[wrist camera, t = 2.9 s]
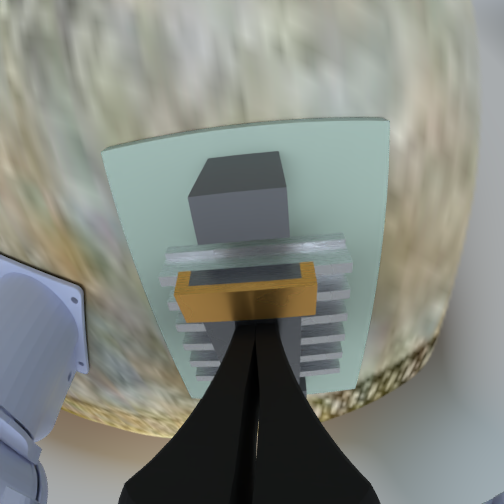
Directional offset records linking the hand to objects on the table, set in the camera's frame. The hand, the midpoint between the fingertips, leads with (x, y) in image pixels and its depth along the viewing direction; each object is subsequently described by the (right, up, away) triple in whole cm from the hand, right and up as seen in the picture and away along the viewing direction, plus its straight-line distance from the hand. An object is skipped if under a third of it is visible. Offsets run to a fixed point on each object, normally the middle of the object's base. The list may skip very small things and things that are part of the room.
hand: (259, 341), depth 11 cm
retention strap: (0, -2, +3) cm, 3 cm away
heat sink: (0, +1, +6) cm, 6 cm away
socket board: (0, +1, +6) cm, 6 cm away
